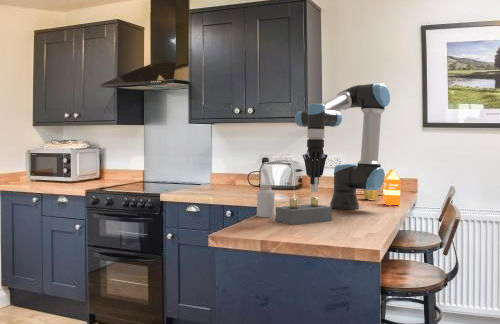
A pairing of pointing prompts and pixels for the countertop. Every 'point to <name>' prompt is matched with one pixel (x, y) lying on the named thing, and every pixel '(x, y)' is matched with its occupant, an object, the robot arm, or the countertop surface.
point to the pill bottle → (265, 201)
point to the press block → (303, 214)
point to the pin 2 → (314, 201)
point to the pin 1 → (293, 203)
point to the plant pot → (371, 194)
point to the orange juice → (391, 189)
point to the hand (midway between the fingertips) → (314, 191)
